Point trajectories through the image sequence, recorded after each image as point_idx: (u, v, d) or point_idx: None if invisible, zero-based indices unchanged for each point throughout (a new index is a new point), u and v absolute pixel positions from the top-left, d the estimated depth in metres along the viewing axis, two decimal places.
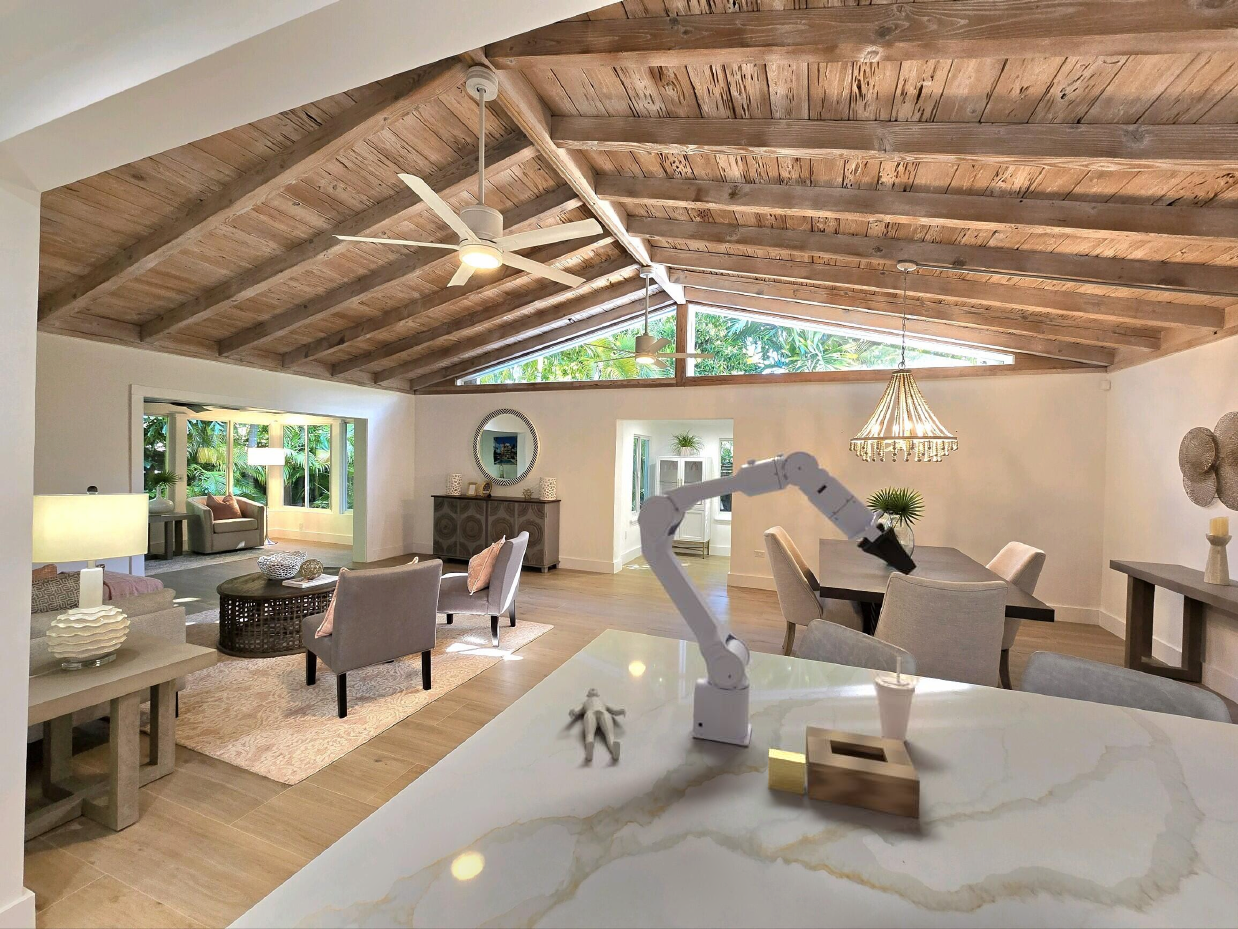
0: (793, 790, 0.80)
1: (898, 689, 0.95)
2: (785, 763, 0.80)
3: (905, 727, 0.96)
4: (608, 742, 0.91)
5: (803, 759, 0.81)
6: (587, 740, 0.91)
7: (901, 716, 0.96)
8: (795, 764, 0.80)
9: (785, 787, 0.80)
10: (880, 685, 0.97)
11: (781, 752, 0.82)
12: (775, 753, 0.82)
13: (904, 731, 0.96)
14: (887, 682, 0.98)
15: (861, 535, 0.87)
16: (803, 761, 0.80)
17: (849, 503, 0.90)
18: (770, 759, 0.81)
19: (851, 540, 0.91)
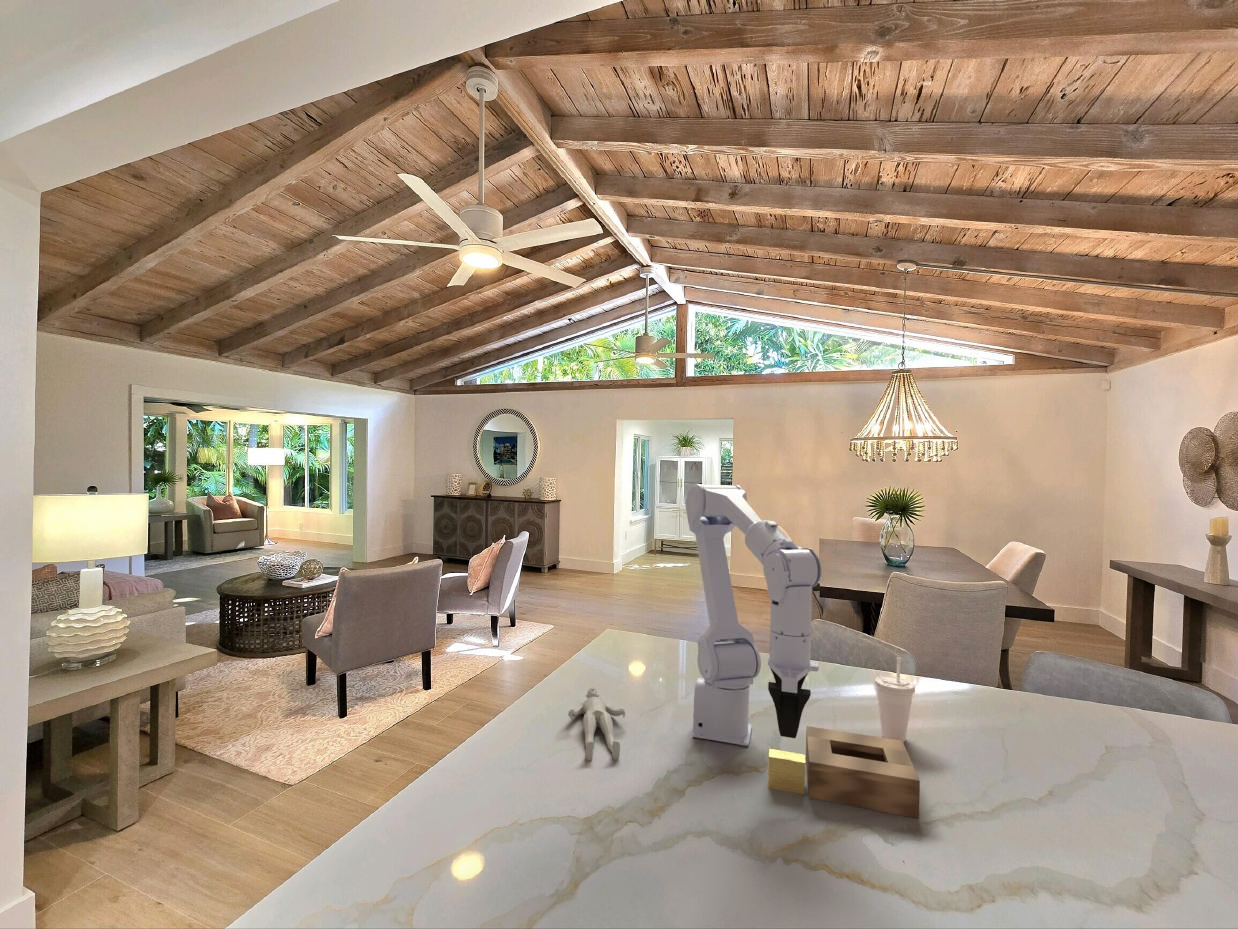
0: (793, 790, 0.80)
1: (898, 689, 0.95)
2: (785, 763, 0.80)
3: (905, 727, 0.96)
4: (608, 742, 0.91)
5: (803, 759, 0.81)
6: (587, 740, 0.91)
7: (901, 716, 0.96)
8: (795, 764, 0.80)
9: (785, 787, 0.80)
10: (880, 685, 0.97)
11: (781, 752, 0.82)
12: (775, 753, 0.82)
13: (904, 731, 0.96)
14: (887, 682, 0.98)
15: (779, 675, 0.77)
16: (802, 761, 0.80)
17: (799, 638, 0.79)
18: (770, 759, 0.81)
19: (769, 664, 0.81)
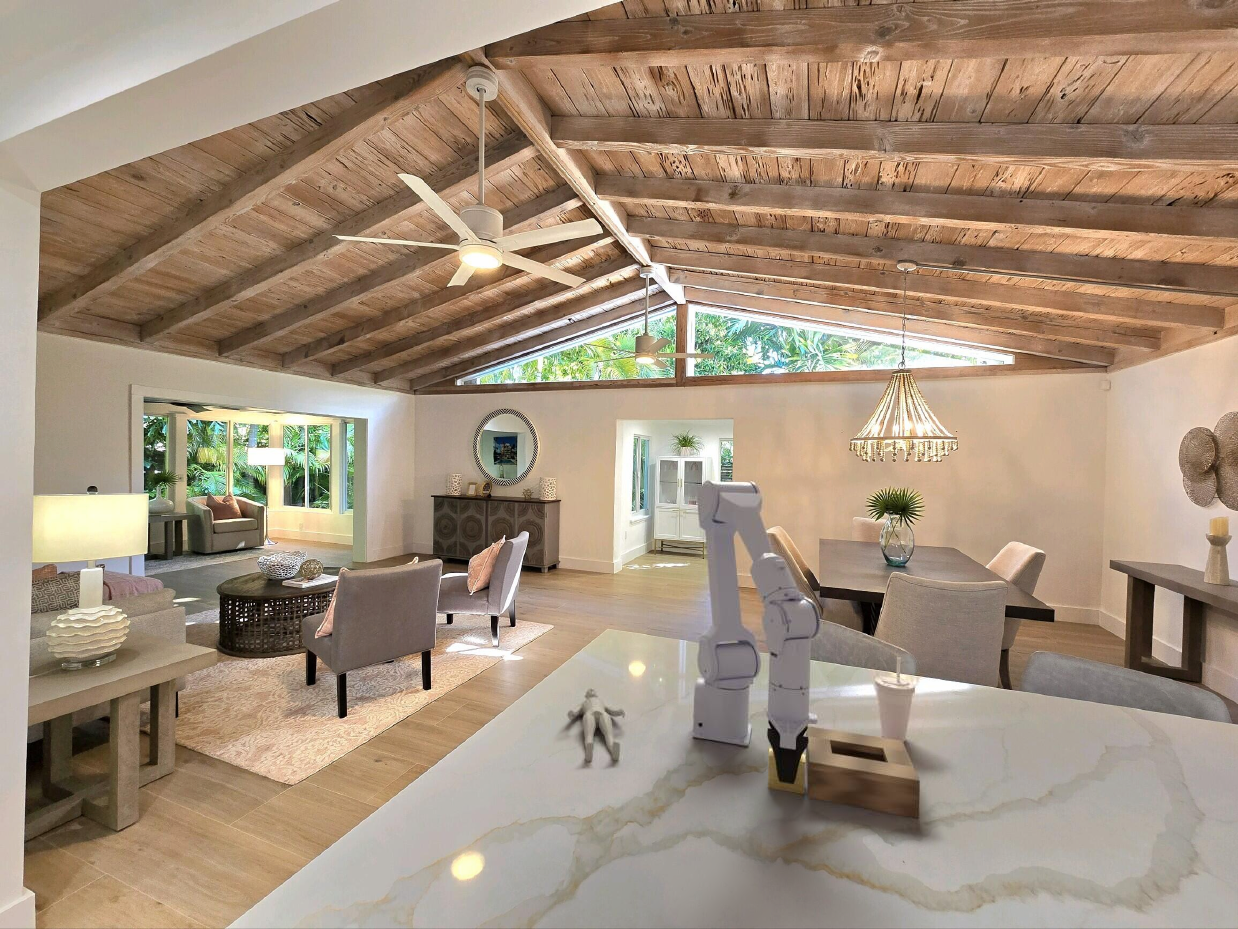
0: (793, 789, 0.80)
1: (898, 689, 0.95)
2: None
3: (905, 727, 0.96)
4: (607, 743, 0.91)
5: (803, 758, 0.81)
6: (586, 741, 0.91)
7: (901, 716, 0.96)
8: None
9: (785, 786, 0.80)
10: (880, 685, 0.97)
11: None
12: None
13: (904, 731, 0.96)
14: (887, 682, 0.98)
15: (778, 729, 0.77)
16: (803, 760, 0.80)
17: (797, 692, 0.79)
18: (770, 758, 0.81)
19: (767, 715, 0.81)
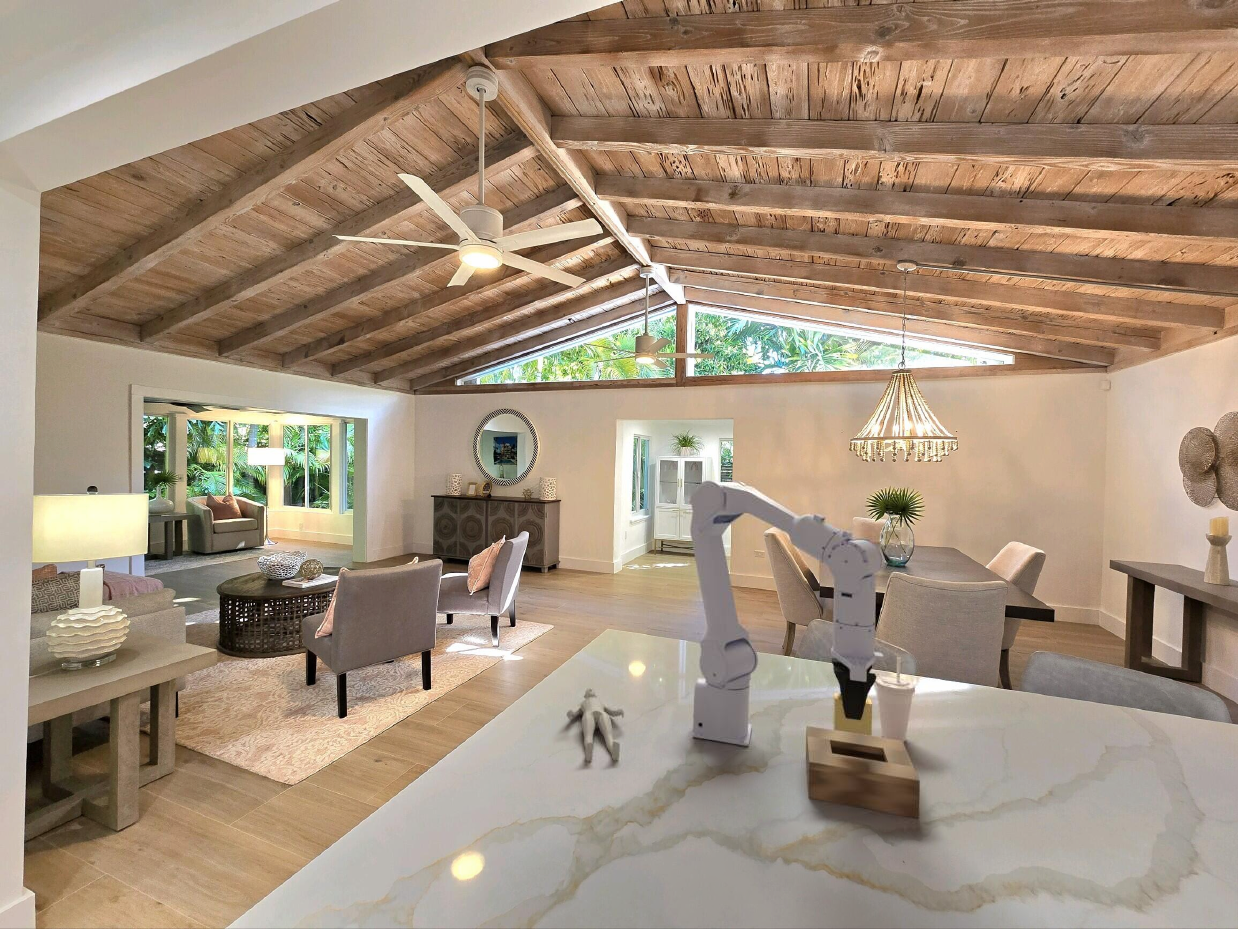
0: (860, 731, 0.81)
1: (898, 689, 0.95)
2: None
3: (905, 727, 0.96)
4: (607, 743, 0.91)
5: (869, 701, 0.81)
6: (586, 741, 0.91)
7: (901, 716, 0.96)
8: None
9: (852, 729, 0.81)
10: (880, 685, 0.97)
11: None
12: (840, 696, 0.83)
13: (904, 731, 0.96)
14: (887, 682, 0.98)
15: (847, 664, 0.78)
16: (869, 703, 0.81)
17: (864, 628, 0.80)
18: (836, 701, 0.82)
19: (833, 654, 0.82)
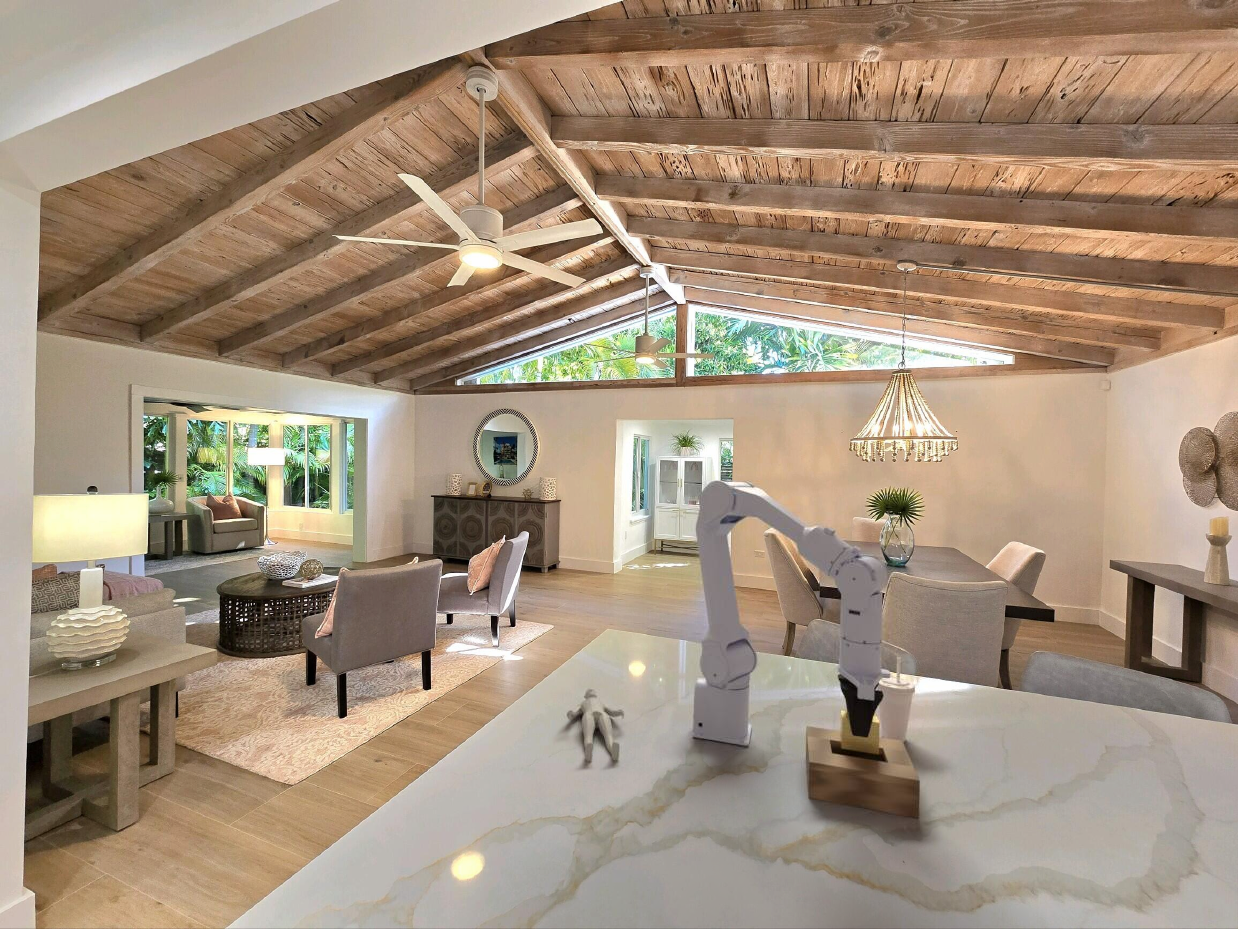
0: (867, 750, 0.81)
1: (898, 689, 0.95)
2: None
3: (905, 727, 0.96)
4: (607, 743, 0.91)
5: (876, 720, 0.81)
6: (586, 741, 0.91)
7: (901, 716, 0.96)
8: None
9: (859, 747, 0.81)
10: (880, 685, 0.97)
11: None
12: (847, 714, 0.83)
13: (904, 731, 0.96)
14: (887, 682, 0.98)
15: (854, 682, 0.78)
16: (876, 721, 0.81)
17: (871, 646, 0.80)
18: (843, 720, 0.82)
19: (840, 671, 0.82)
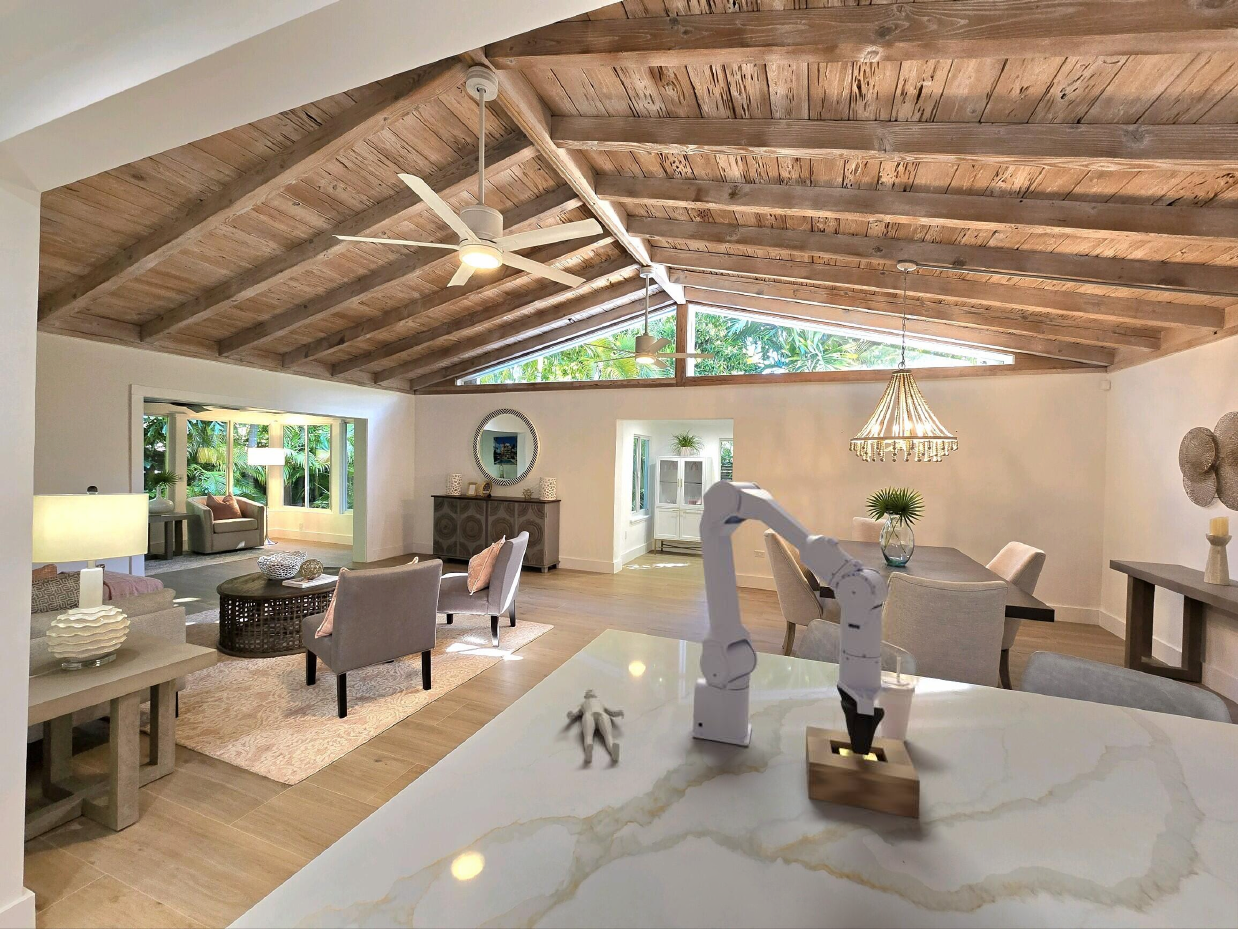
0: None
1: (898, 689, 0.95)
2: None
3: (905, 727, 0.96)
4: (607, 744, 0.91)
5: (875, 758, 0.81)
6: (586, 742, 0.91)
7: (901, 716, 0.96)
8: None
9: None
10: None
11: (851, 751, 0.83)
12: (846, 752, 0.83)
13: (904, 731, 0.96)
14: (887, 682, 0.98)
15: (854, 696, 0.78)
16: (875, 760, 0.81)
17: (871, 660, 0.80)
18: None
19: (839, 684, 0.82)
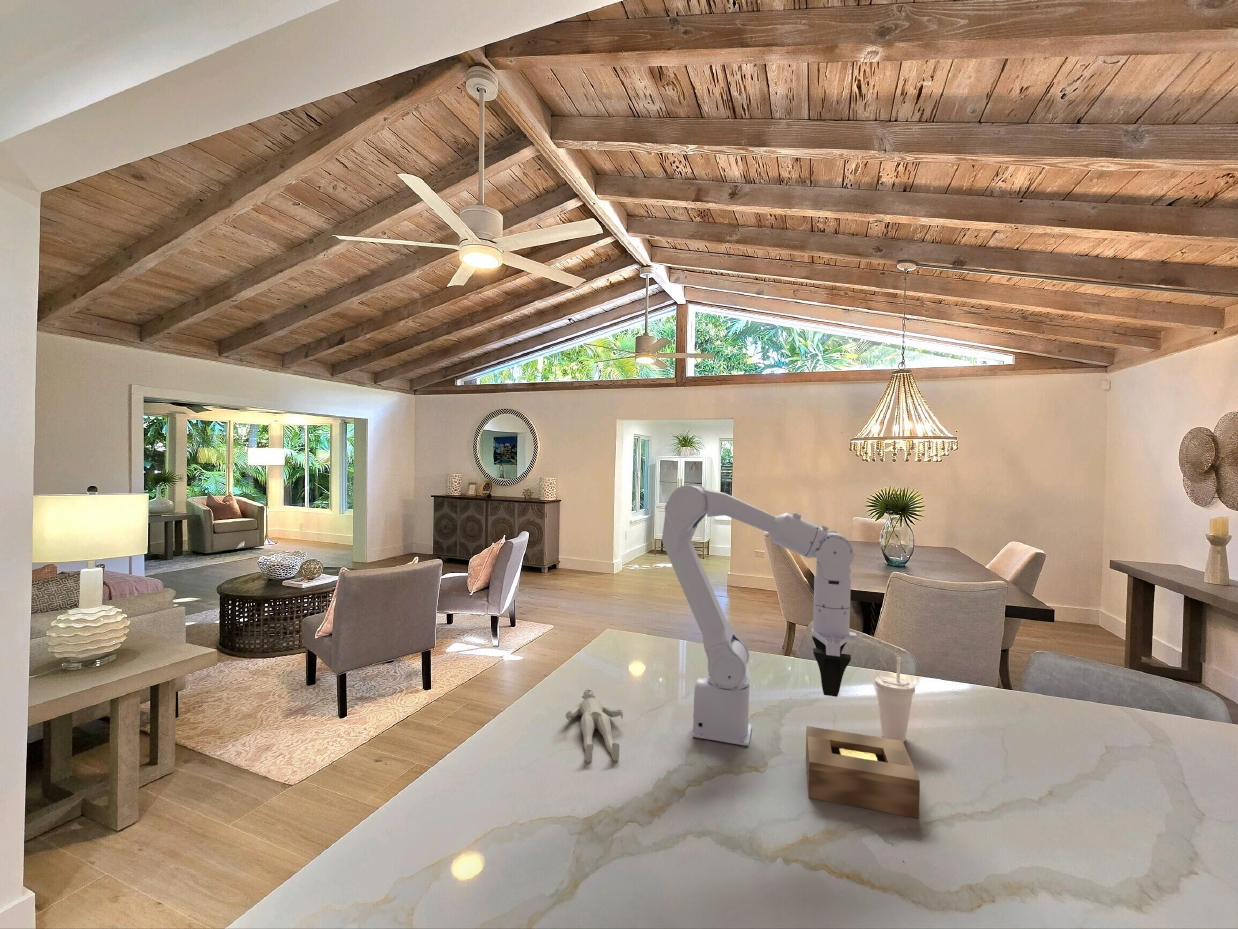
0: None
1: (898, 689, 0.95)
2: None
3: (905, 727, 0.96)
4: (607, 744, 0.91)
5: (875, 758, 0.81)
6: (585, 742, 0.90)
7: (901, 716, 0.96)
8: None
9: None
10: (880, 685, 0.97)
11: (851, 751, 0.83)
12: (846, 752, 0.83)
13: (904, 731, 0.96)
14: (887, 682, 0.98)
15: (824, 641, 0.89)
16: (875, 760, 0.81)
17: (840, 611, 0.91)
18: None
19: (813, 633, 0.93)
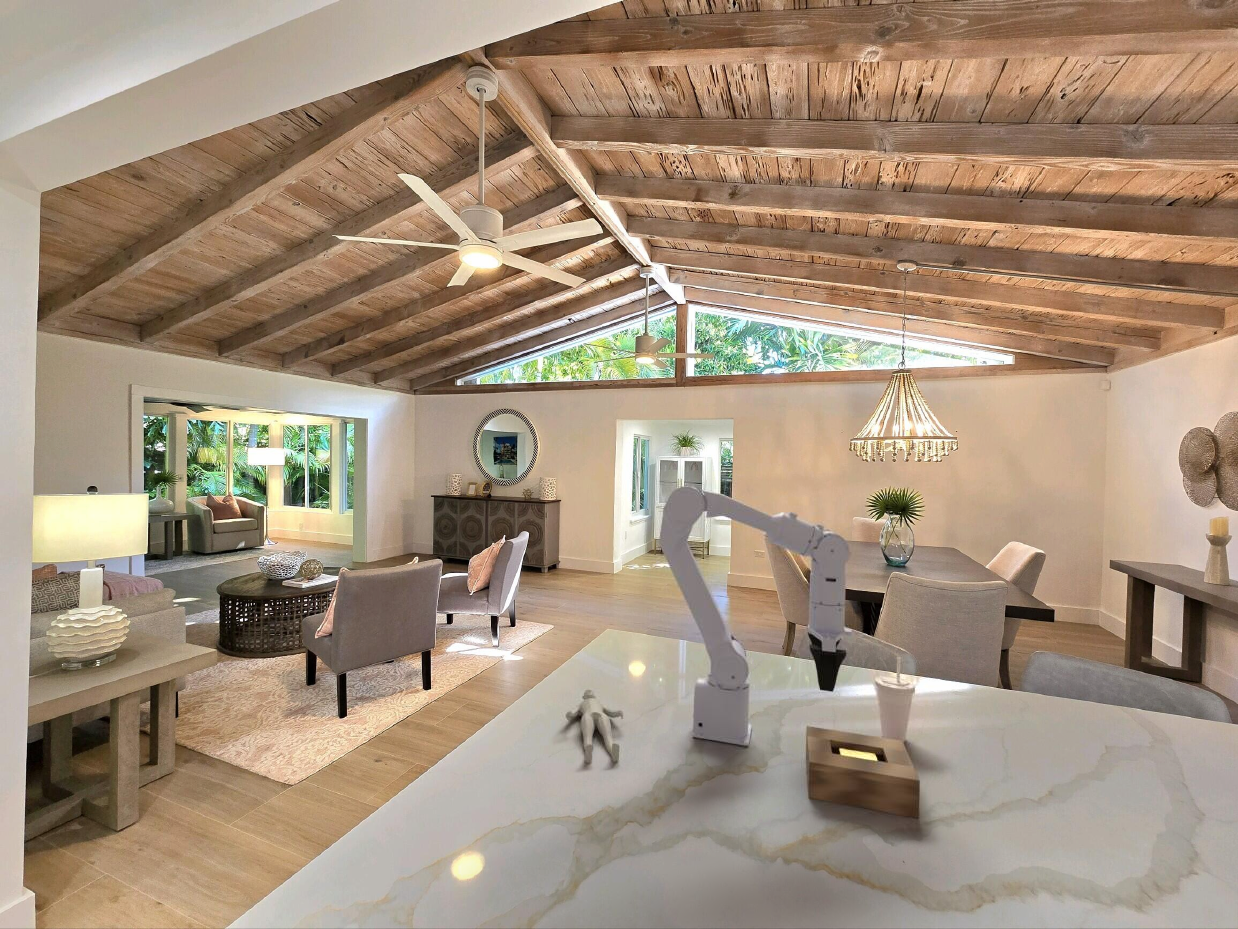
0: None
1: (898, 689, 0.95)
2: None
3: (905, 727, 0.96)
4: (607, 744, 0.90)
5: (875, 758, 0.81)
6: (585, 743, 0.90)
7: (901, 716, 0.96)
8: None
9: None
10: (880, 685, 0.97)
11: (851, 751, 0.83)
12: (846, 753, 0.83)
13: (904, 731, 0.96)
14: (887, 682, 0.98)
15: (820, 637, 0.90)
16: (875, 760, 0.81)
17: (835, 607, 0.93)
18: None
19: (809, 630, 0.95)
